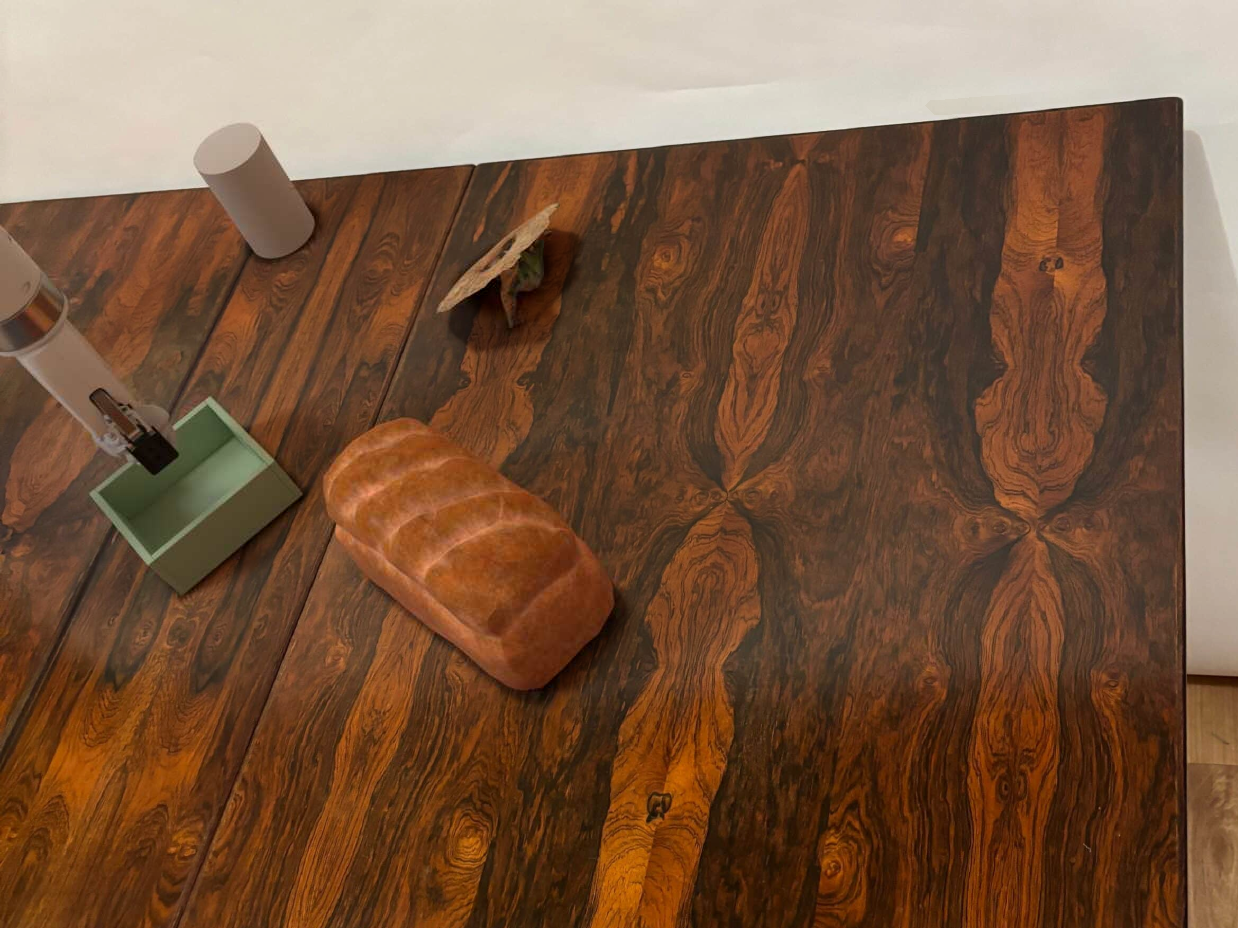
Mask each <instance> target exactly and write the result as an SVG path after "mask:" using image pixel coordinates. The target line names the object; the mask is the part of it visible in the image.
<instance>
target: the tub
mask: <svg viewBox="0 0 1238 928" xmlns="http://www.w3.org/2000/svg"><path fill="white" fill-rule="evenodd" d="M171 426H172V427H173V429H174V430H175V432H176V435H177V440H178V446H177V451H178V453H179V456H178V458H176V459H175V460H174V461H173V462H172V463H170V464H169V465H168V466H167V467H165V468H164V469H163V470H162V471H160V472H159V473H158V474H157V475H152V474H151V473H150V472H149V471H148V470H147V469H146V468H144V467H143V466H139V465H138V464H136V463H132V462H129V461H127V462H126V463H124V464H123V465H122V466H121V467H120V468H119V469H117V470H116V471H115V472H114V473H112V475H110V476H108V477H107V478H106V479H105V480H104V481H103V482H101V483H100V484H99V485H98V486H96V487H95V488H94V489H93V490H91V491H90V492H89V493H88V495H89V496H90V497H91V498H92V500H93V501H94V502H95V503H96V505H98V507H99V509H101V510H102V511H103V513H104V514H105V515H106V517H107V518H108V519H109V520H110V521H111V523H112V524H113V525H114V526H115V528H116V529H117V530H118V531H119V532H120V534H121V535H122V536H123V537H124V539H125V540H126V541H127V542H128V543H129V544H130V546H131V547H132V549H134V550H135V552H136V553H137V554H138V556H139V557H140V558H141V559H142V560H143V562H144V563H145V564H146V565H147V566H148V567H149V568H150V569H151V570H152V571H153V572H155V573H156V575H158V576H159V577H160V578H161V579H162V580H163V581H165V582H166V583H167V584H168V585H170V587H172V588H173V589H174V590H175V591H177V593H179V594H180V595H181V596H184V595H185V594H186V593H187V592H188V591H190V590H191V589H192V588H193V587H194V586H196V584H198V583H199V582H200V581H202V580H203V579H204V578H205V577H207V575H208V574H210V573H211V572H212V571H213V570H214V569H216V568H217V567H219V565H221V564H222V563H223V562H224V561H225V560H227V559H228V558H229V557H230V556H231V555H232V554H234V553H235V552H236V551H237V550H239V549H240V548H241V547H242V546H243V545H244V544H246V543H247V542H248V541H249V540H250V539H252V538H253V537H254V536H255V535H256V534H258V533H259V532H260V531H261V530H263V529H264V528H265V527H266V526H267V525H268V524H270V523H271V522H272V521H273V520H275V519H276V518H277V517H278V516H279V515H280V514H281V513H282V512H284V511H285V510H287V508H289V507H290V506H291V505H292V504H294V503H295V502H296V501H297V500H298V499H299V498H300V497H302V496H303V495H304V493H303V492H302V490H300V488H299V487H298V485H297V484H295V482H294V481H293V480H292V479H291V477H289V475H288V474H287V473H286V472H285V471H284V469H283V468H282V467H281V466H280V465H279V463H278V462H277V461H276V460H275V459H274V458H273V456H272V455H270V454H269V453H268V452H267V451H266V450H265V449H264V448H263V447H262V446H261V445H260V444H259V443H258V442H257V441H256V439H254V438H253V437H252V436H251V435H250V434H249V433H248V432H247V431H246V430H245V429H244V428H243V427H242V426H241V425H240V424H239V423H238V422H237V420H235V419H234V418H233V417H232V416H231V414H229V413H228V412H227V411H226V410H225V409H224V408H223V407H222V406H221V405H220V404H219V403H218V402H217V401H216V400H215V399H214V398H213V397H212V396H211V395H210V396H208V397H207V398H205V400H203V401H202V402H200V403H199V404H198V405H197V406H196V407H194V408H193V409H192V410H190V411H189V412H188V413H187V414H186V415H185V416H183V417H182V418H181V419H180V420H178V421H177V422H176V423H174V425H171Z"/></svg>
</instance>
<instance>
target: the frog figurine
mask: <svg viewBox="0 0 1238 928" xmlns="http://www.w3.org/2000/svg"><path fill="white" fill-rule="evenodd" d="M118 407H119V408H120V409H123V408H124V407H125V406H118ZM134 410H135V409H134ZM135 411H136V412H137V413H138V415H139V416H140V417H141V418H142V419H143V420H144V421H145V422H146V423H147V424H148V425H149V426H150V427H151V426H152V425H153V426H154V427H155V428H156V429H157V430H158V431H159V433H160V434H161V435H162V436H163V437H164V438H165V439H166V440H167V441H168V442H169V443H170V444H171V445H172V446H173V447H174V448H175V449H176V450H177V446H178V440H177V435H176V432H175V430H174V429H173V427H172V426H173V425H172V424H170V422H169V420H170V414H169V412H167V411H166V410H165V409H164V408H163V407H161V406H159V405H155V404H143V403H137V409H136V410H135ZM104 417H105V419H106V420H107V421H108V420H109V419H110V418H109V417H108V416H107V415H105V416H104ZM129 418H130V419H131V420H132V422H133V423H134V424H135V425H136V424H139V423H138V422H137V421H136V420H135V419H134V418H133V417H132V416H131V415H130V416H129ZM116 427H117V428H118V429H119V430H120V431H121V433H122V434H123V435H124V433H123V431H122V430H121V429H120V428H119V427H118V426H116ZM107 429H108V428H107ZM92 440H93V442H94V444H96V445H97V446H98V447H100V448H101V449H102V450H103V451H104V452H106V453H107V454H108V455H110V456H112V457H114V458H116V459H120V460H122V461H123V460H127V462H132V463H136V464H138V465H139V466H142V465H141V464H140V463H139V462H138V461H137V460H136V459H135V458H134V457H133V456H132V455H131V454H130V453H129V452H128V451H127V450H126V448H125V447H126V445H125V444H124V443H123V442H122V441H121V440H120V439H119V438H118V437H117V436H116V435H115V434H114V433H113V432H112V431H111V430H110V429H108V432H107V433H106V434H104V435H103V437H102V438H98V437H94V436H93V435H92Z"/></svg>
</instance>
